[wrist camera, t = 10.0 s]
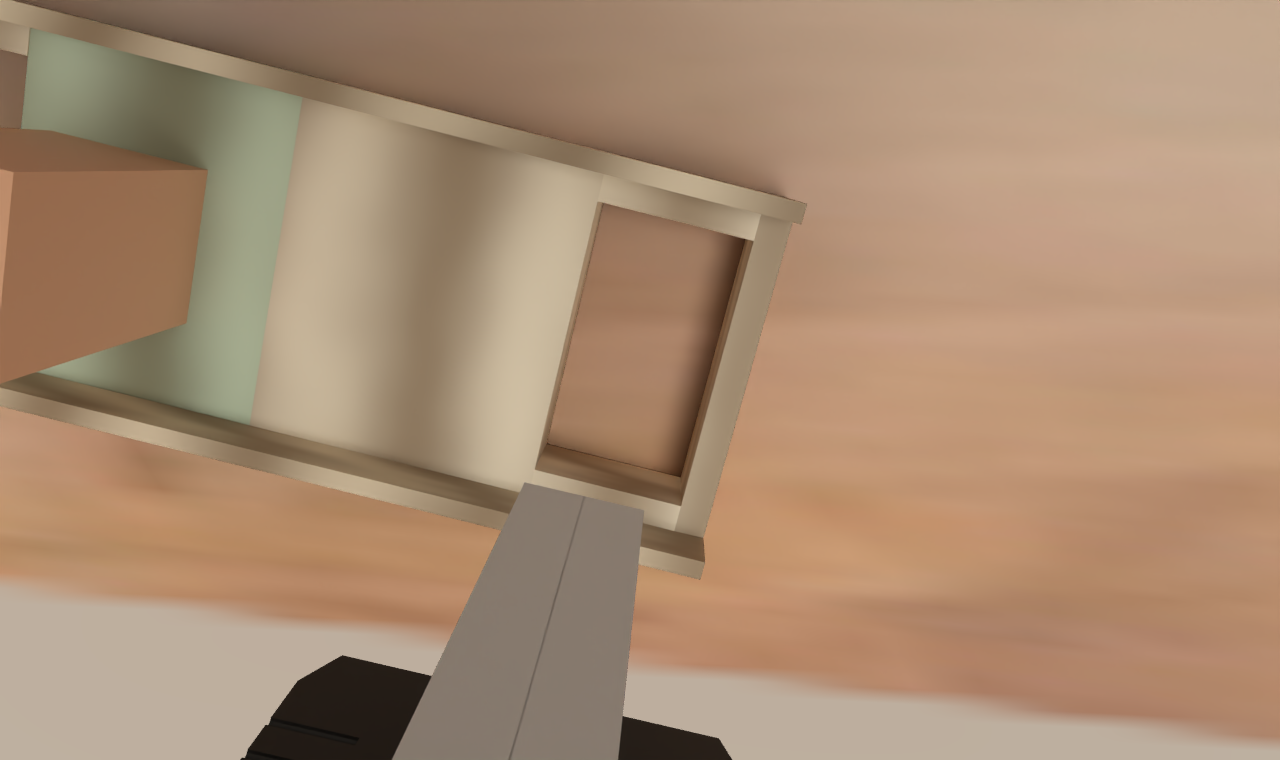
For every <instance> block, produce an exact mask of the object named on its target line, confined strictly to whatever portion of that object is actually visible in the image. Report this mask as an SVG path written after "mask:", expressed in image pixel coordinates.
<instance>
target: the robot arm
mask: <svg viewBox="0 0 1280 760" xmlns="http://www.w3.org/2000/svg"><path fill="white" fill-rule="evenodd" d="M643 516H644V510H641V509H636V508H632V507H628V506H624V505H619V504H615V503H611V502H607V501H602V500H598V499H594V498H590V497H585V496H581V495H577V494H573V493H568V492H564V491H560V490H555V489H551V488H547V487H543V486H538V485H534V484H530V483H526V482H524V485H523V487H522V489H521V491H520V493H519V495H518V497H517V499H516V501H515V503H514V505H513V508H512V510H511V512H510V514H509V516H508V518H507V520H506V522H505V524H504V526H503V528H502V531H501V533H500V535H499V537H498V539H497V541H496V543H495V545H494V547H493V549H492V551H491V554H490V556H489V558H488V560H487V562H486V564H485V566H484V568H483V570H482V572H481V574H480V577H479V579H478V581H477V583H476V585H475V587H474V589H473V591H472V593H471V595H470V597H469V600H468V602H467V604H466V606H465V608H464V610H463V612H462V614H461V616H460V618H459V620H458V623H457V625H456V627H455V629H454V631H453V633H452V635H451V637H450V639H449V641H448V643H447V646H446V648H445V650H444V652H443V654H442V656H441V658H440V660H439V662H438V665H437V666H436V669H435V671H434V673H433V675H432V676H429V675H425V674H421V673H416V672H412V671H407V670H403V669H399V668H395V667H390V666H386V665H382V664H377V663H373V662H368V661H364V660H360V659H356V658H351V657H347V656H343V655H342V656H340V657H339V658H337V659H335V660H333V661H332V662H330V663H328V664H326V665H325V666H323V667H321V668H319V669H318V670H316V671H314V672H312V673H311V674H309V675H307V676H305V677H304V678H302V679H300V680H299V681H297V683H296V684H295V685H294V687H293V688H292V689H291V691H290V692H289V694H288V695H287V696H286V698H285V699H284V700H283V702H282V703H281V705H280V706H279V707H278V709H277V710H276V711H275V713H274V714H273V716H272V717H271V720H270V723H269V725H265V727H264V728H263V729H262V731H261V732H260V733H259V735H258V736H257V738H256V739H255V741H254V742H253V743H252V744H251V746H250V747H249V748H248V751H247V755H246V757H245V758H241V760H732V759H731V757H730V756H729V754H728V753H727V751H726V749H725V748H724V746H723V745H722V743H721V741H720V740H719V738H715V737H710V736H706V735H702V734H697V733H693V732H689V731H684V730H680V729H676V728H671V727H667V726H663V725H659V724H654V723H650V722H646V721H641V720H637V719H633V718H628V717H624V716H623V706H624V697H625V687H626V678H627V669H628V659H629V650H630V640H631V630H632V621H633V611H634V602H635V592H636V583H637V573H638V563H639V554H640V544H641V535H642V525H643Z"/></svg>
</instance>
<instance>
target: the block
mask: <svg viewBox="0 0 1280 760" xmlns="http://www.w3.org/2000/svg"><path fill="white" fill-rule="evenodd" d="M207 174H208V170H206V169H202V168H198V167H194V166H190V165H186V164H182V163H178V162H174V161H170V160H167V159H163V158H159V157H155V156H151V155H147V154H143V153H139V152H135V151H131V150H127V149H123V148H119V147H115V146H111V145H107V144H103V143H99V142H95V141H91V140H87V139H83V138H79V137H75V136H71V135H67V134H63V133H59V132H55V131H51V130H34V129H15V128H0V384H1V383H4V382H7V381H10V380H13V379H16V378H19V377H22V376H25V375H29V374H32V373H35V372H38V371H41V370H44V369H47V368H50V367H53V366H56V365H59V364H62V363H66V362H69V361H72V360H75V359H78V358H81V357H84V356H87V355H90V354H93V353H96V352H99V351H103V350H106V349H109V348H112V347H115V346H118V345H121V344H124V343H127V342H130V341H133V340H136V339H139V338H143V337H146V336H149V335H152V334H155V333H158V332H161V331H164V330H167V329H170V328H173V327H176V326H180V325H183V324H186V323H187V316H188V309H189V302H190V295H191V288H192V281H193V273H194V266H195V259H196V252H197V245H198V238H199V231H200V224H201V217H202V209H203V202H204V195H205V188H206V181H207Z"/></svg>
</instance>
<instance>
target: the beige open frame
mask: <svg viewBox="0 0 1280 760" xmlns="http://www.w3.org/2000/svg"><path fill="white" fill-rule="evenodd" d="M0 49H2V50H6V51H10V52H14V53H18V54H22V55H26V56H28V62H27V73H26V83H25V93H24V103H23V114H22V124H21V129H34V130H51V131H55V132H59V133H63V134H67V135H71V136H75V137H79V138H83V139H87V140H91V141H95V142H99V143H103V144H107V145H111V146H115V147H119V148H123V149H127V150H131V151H135V152H139V153H143V154H147V155H151V156H155V157H159V158H163V159H167V160H170V161H174V162H178V163H182V164H186V165H190V166H194V167H198V168H202V169H206V170H208V174H207V181H206V188H205V195H204V202H203V209H202V217H201V224H200V231H199V238H198V245H197V252H196V259H195V266H194V273H193V281H192V288H191V295H190V302H189V309H188V316H187V323H186V324H183V325H180V326H176V327H173V328H170V329H167V330H164V331H161V332H158V333H155V334H152V335H149V336H146V337H143V338H139V339H136V340H133V341H130V342H127V343H124V344H121V345H118V346H115V347H112V348H109V349H106V350H103V351H99V352H96V353H93V354H90V355H87V356H84V357H81V358H78V359H75V360H72V361H69V362H66V363H62V364H59V365H56V366H53V367H50V368H47V369H44V370H41V371H38V372H35V373H32V374H29V375H25V376H22V377H19V378H16V379H13V380H10V381H7V382H4V383H1V384H0V406H1V407H5V408H9V409H13V410H17V411H21V412H25V413H29V414H34V415H38V416H42V417H46V418H50V419H54V420H58V421H62V422H66V423H70V424H74V425H78V426H82V427H86V428H90V429H94V430H98V431H102V432H106V433H110V434H114V435H118V436H122V437H126V438H130V439H134V440H138V441H142V442H147V443H151V444H155V445H159V446H163V447H167V448H171V449H175V450H179V451H183V452H187V453H191V454H195V455H199V456H203V457H207V458H211V459H215V460H219V461H223V462H227V463H231V464H235V465H239V466H243V467H247V468H251V469H255V470H259V471H264V472H268V473H272V474H276V475H280V476H284V477H288V478H292V479H296V480H300V481H304V482H308V483H312V484H316V485H320V486H324V487H328V488H332V489H336V490H340V491H344V492H348V493H352V494H356V495H360V496H364V497H368V498H372V499H377V500H381V501H385V502H389V503H393V504H397V505H401V506H405V507H409V508H413V509H417V510H421V511H425V512H429V513H433V514H437V515H441V516H445V517H449V518H453V519H457V520H461V521H465V522H469V523H473V524H477V525H481V526H485V527H490V528H494V529H498V530H502V528H503V526H504V524H505V522H506V520H507V518H508V516H509V514H510V512H511V510H512V508H513V505H514V503H515V501H516V499H517V497H518V495H519V493H520V491H521V489H522V487H523V485H524V482H526V483H530V484H534V485H538V486H543V487H547V488H551V489H555V490H560V491H564V492H568V493H573V494H577V495H581V496H585V497H590V498H594V499H598V500H602V501H607V502H611V503H615V504H619V505H624V506H628V507H632V508H636V509H641V510H644V516H643V525H642V535H641V544H640V554H639V563H638V564H639V565H643V566H647V567H651V568H655V569H659V570H663V571H667V572H671V573H675V574H679V575H683V576H687V577H691V578H695V579H699V580H700V579H701V575H702V571H703V568H704V564H705V555H704V541H703V537H704V534H705V530H706V527H707V523H708V520H709V516H710V513H711V509H712V506H713V502H714V498H715V495H716V491H717V488H718V484H719V481H720V477H721V474H722V470H723V467H724V463H725V460H726V456H727V452H728V449H729V445H730V442H731V438H732V435H733V431H734V428H735V424H736V421H737V417H738V414H739V410H740V406H741V403H742V399H743V396H744V392H745V389H746V385H747V382H748V378H749V375H750V371H751V368H752V364H753V360H754V357H755V353H756V350H757V346H758V343H759V339H760V336H761V332H762V329H763V325H764V321H765V318H766V314H767V311H768V307H769V304H770V300H771V297H772V293H773V290H774V286H775V283H776V279H777V275H778V272H779V268H780V265H781V261H782V258H783V254H784V251H785V247H786V244H787V240H788V237H789V233H790V229H791V226H792V222H793V223H797V224H802V220H803V217H804V213H805V210H806V206H807V204H805V203H802V202H799V201H795V200H792V199H789V198H785V197H781V196H777V195H773V194H770V193H766V192H762V191H758V190H754V189H750V188H746V187H742V186H738V185H734V184H730V183H727V182H723V181H719V180H715V179H711V178H707V177H703V176H699V175H695V174H691V173H688V172H684V171H680V170H676V169H672V168H668V167H664V166H660V165H656V164H652V163H648V162H645V161H641V160H637V159H633V158H629V157H625V156H621V155H617V154H613V153H609V152H605V151H602V150H598V149H594V148H590V147H586V146H582V145H578V144H574V143H570V142H566V141H562V140H559V139H555V138H551V137H547V136H543V135H539V134H535V133H531V132H527V131H523V130H519V129H516V128H512V127H508V126H504V125H500V124H496V123H492V122H488V121H484V120H480V119H476V118H473V117H469V116H465V115H461V114H457V113H453V112H449V111H445V110H441V109H437V108H433V107H430V106H426V105H422V104H418V103H414V102H410V101H406V100H402V99H398V98H394V97H390V96H387V95H383V94H379V93H375V92H371V91H367V90H363V89H359V88H355V87H351V86H347V85H344V84H340V83H336V82H332V81H328V80H324V79H320V78H316V77H312V76H308V75H304V74H301V73H297V72H293V71H289V70H285V69H281V68H277V67H273V66H269V65H265V64H261V63H258V62H254V61H250V60H246V59H242V58H238V57H234V56H230V55H226V54H222V53H218V52H215V51H211V50H207V49H203V48H199V47H195V46H191V45H187V44H183V43H179V42H175V41H172V40H168V39H164V38H160V37H156V36H152V35H148V34H144V33H140V32H136V31H132V30H129V29H125V28H121V27H117V26H113V25H109V24H105V23H101V22H97V21H93V20H89V19H86V18H82V17H78V16H74V15H70V14H66V13H62V12H58V11H54V10H50V9H46V8H43V7H39V6H35V5H31V4H27V3H23V2H19V1H15V0H0ZM603 203H606V204H610V205H614V206H618V207H622V208H626V209H630V210H634V211H638V212H642V213H646V214H650V215H654V216H657V217H661V218H665V219H669V220H673V221H677V222H681V223H685V224H689V225H693V226H697V227H701V228H705V229H709V230H712V231H716V232H720V233H724V234H728V235H732V236H736V237H740V238H744V239H745V243H744V247H743V250H742V254H741V258H740V261H739V265H738V269H737V272H736V276H735V280H734V283H733V287H732V291H731V294H730V298H729V302H728V305H727V309H726V313H725V316H724V320H723V324H722V327H721V331H720V335H719V338H718V342H717V346H716V349H715V353H714V357H713V360H712V364H711V368H710V371H709V375H708V379H707V382H706V386H705V390H704V393H703V397H702V401H701V404H700V408H699V412H698V415H697V419H696V423H695V426H694V430H693V434H692V437H691V441H690V445H689V448H688V452H687V456H686V459H685V463H684V467H683V470H682V474H681V477H677V476H673V475H669V474H665V473H661V472H657V471H653V470H649V469H645V468H641V467H637V466H633V465H629V464H625V463H621V462H617V461H613V460H609V459H605V458H601V457H597V456H593V455H589V454H585V453H581V452H577V451H573V450H569V449H565V448H561V447H557V446H553V445H549V444H547V440H548V435H549V431H550V427H551V423H552V418H553V414H554V410H555V406H556V401H557V397H558V393H559V389H560V385H561V380H562V376H563V372H564V368H565V363H566V359H567V355H568V351H569V347H570V342H571V338H572V334H573V330H574V325H575V321H576V317H577V313H578V309H579V304H580V300H581V296H582V292H583V287H584V283H585V279H586V275H587V270H588V266H589V262H590V258H591V254H592V249H593V245H594V241H595V237H596V232H597V228H598V224H599V220H600V216H601V211H602V207H603Z"/></svg>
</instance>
